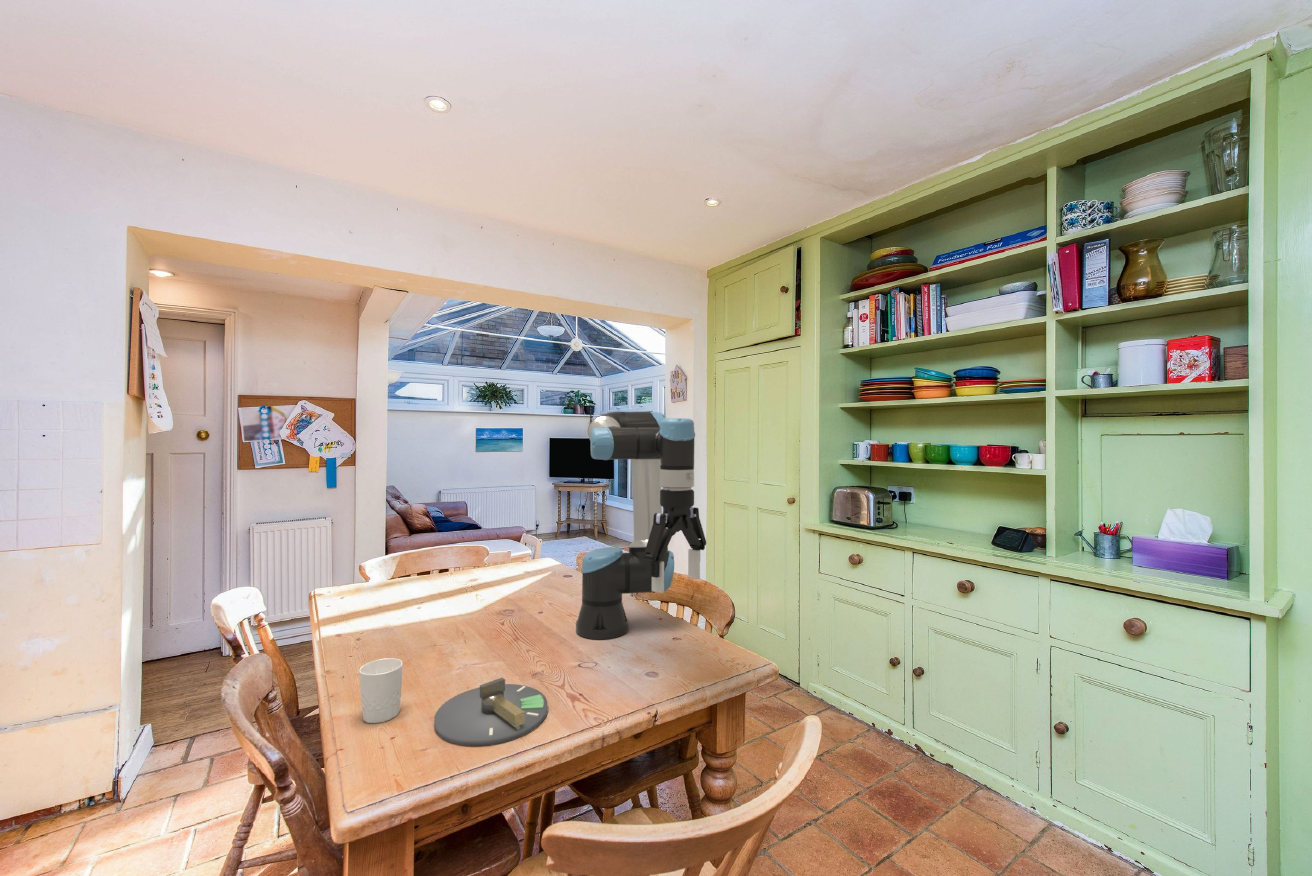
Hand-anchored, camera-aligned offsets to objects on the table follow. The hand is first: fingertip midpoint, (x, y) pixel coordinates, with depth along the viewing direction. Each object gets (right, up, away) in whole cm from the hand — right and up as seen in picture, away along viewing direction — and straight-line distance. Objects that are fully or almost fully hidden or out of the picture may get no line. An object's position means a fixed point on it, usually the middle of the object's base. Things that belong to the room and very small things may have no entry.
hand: (676, 585), depth 119 cm
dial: (-38, -24, -9) cm, 46 cm away
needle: (-35, -23, -12) cm, 43 cm away
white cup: (-60, -24, -9) cm, 66 cm away
